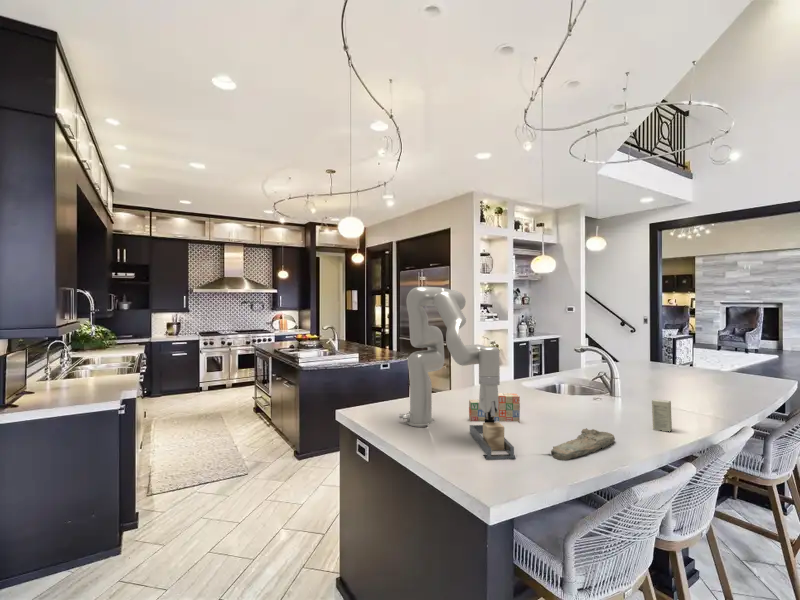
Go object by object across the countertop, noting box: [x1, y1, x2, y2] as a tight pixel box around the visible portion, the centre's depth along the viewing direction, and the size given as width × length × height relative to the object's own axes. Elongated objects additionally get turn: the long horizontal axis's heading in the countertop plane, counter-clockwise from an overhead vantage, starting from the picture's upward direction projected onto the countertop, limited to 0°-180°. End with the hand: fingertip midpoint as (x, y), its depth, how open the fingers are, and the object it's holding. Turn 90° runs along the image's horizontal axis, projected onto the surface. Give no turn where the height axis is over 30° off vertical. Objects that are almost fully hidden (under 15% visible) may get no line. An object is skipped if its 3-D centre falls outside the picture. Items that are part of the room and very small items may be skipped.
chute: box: [469, 424, 516, 461], centre depth 151 cm, size 10×26×4 cm, turn 4°
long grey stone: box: [550, 428, 616, 461], centre depth 149 cm, size 35×5×10 cm
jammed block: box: [482, 421, 505, 451], centre depth 146 cm, size 6×6×8 cm
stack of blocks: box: [468, 392, 521, 424], centre depth 183 cm, size 21×6×12 cm, turn 88°
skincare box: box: [651, 398, 673, 433], centre depth 171 cm, size 6×4×12 cm
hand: (489, 429), depth 152 cm, fingers closed
